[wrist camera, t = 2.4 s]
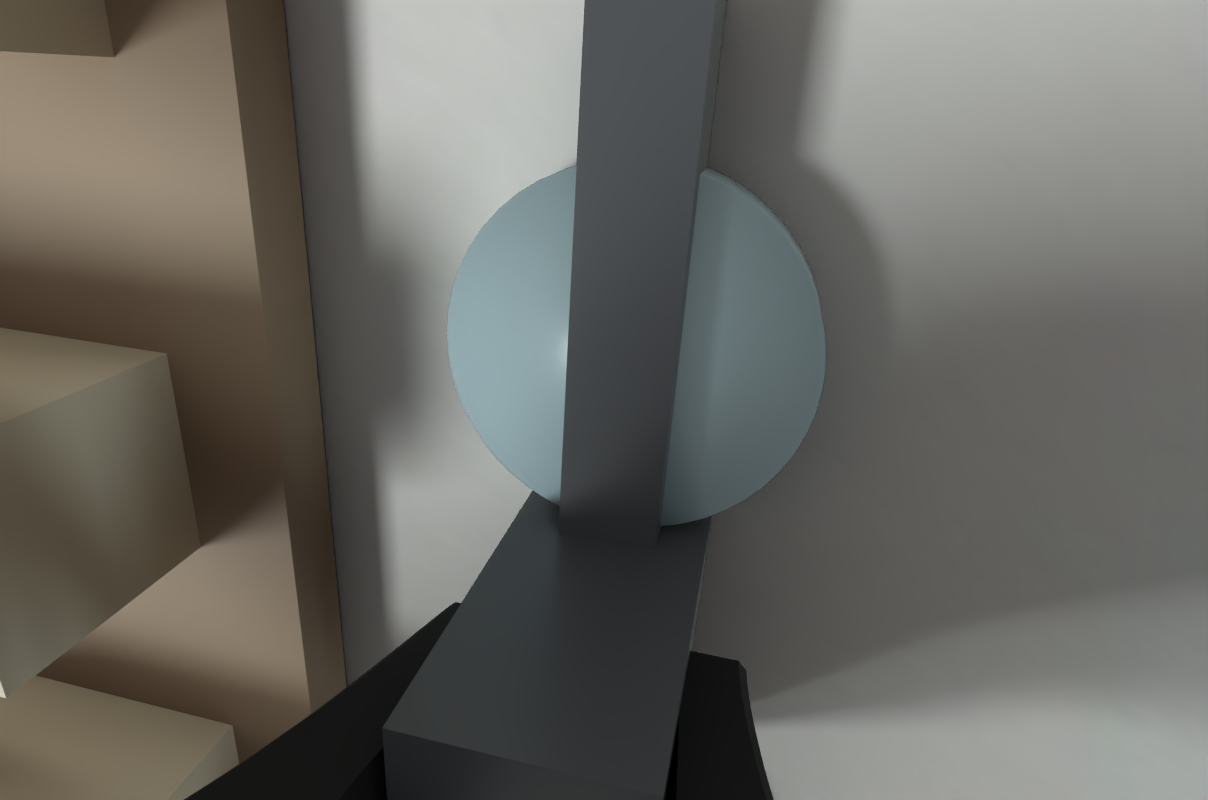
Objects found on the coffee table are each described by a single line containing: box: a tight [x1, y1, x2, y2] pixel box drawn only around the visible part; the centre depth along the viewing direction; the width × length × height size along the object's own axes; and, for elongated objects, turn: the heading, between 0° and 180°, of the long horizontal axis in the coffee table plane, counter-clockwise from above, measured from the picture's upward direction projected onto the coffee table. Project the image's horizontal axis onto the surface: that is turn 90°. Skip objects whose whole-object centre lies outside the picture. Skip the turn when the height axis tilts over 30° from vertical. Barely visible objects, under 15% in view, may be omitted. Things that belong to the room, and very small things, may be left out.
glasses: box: [382, 0, 826, 800], centre depth 9 cm, size 16×4×4 cm, turn 176°
